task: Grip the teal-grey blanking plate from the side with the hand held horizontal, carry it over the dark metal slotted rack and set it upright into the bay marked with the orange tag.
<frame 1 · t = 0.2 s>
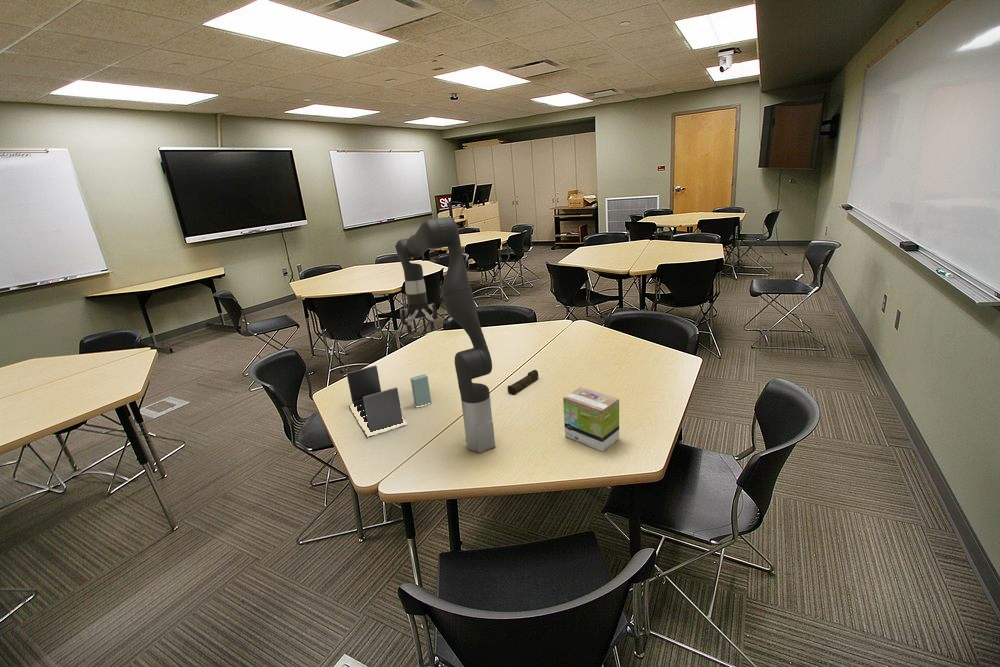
hand: (421, 332, 180), 29 cm above the table, tool pointing down, fingers open, 8 cm apart
blanking plate: (423, 404, 183), on the table
tea box: (591, 438, 149), on the table
rack: (377, 415, 178), on the table
hand tool: (524, 386, 193), on the table
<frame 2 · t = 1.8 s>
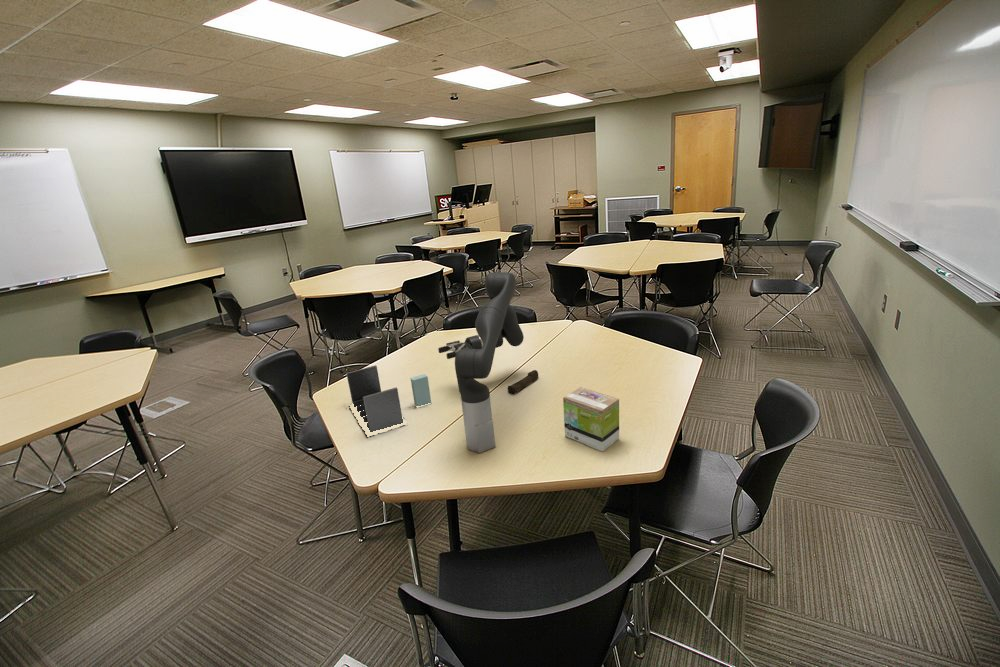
hand: (442, 353, 183), 19 cm above the table, tool horizontal, fingers open, 8 cm apart
nothing on the table moved.
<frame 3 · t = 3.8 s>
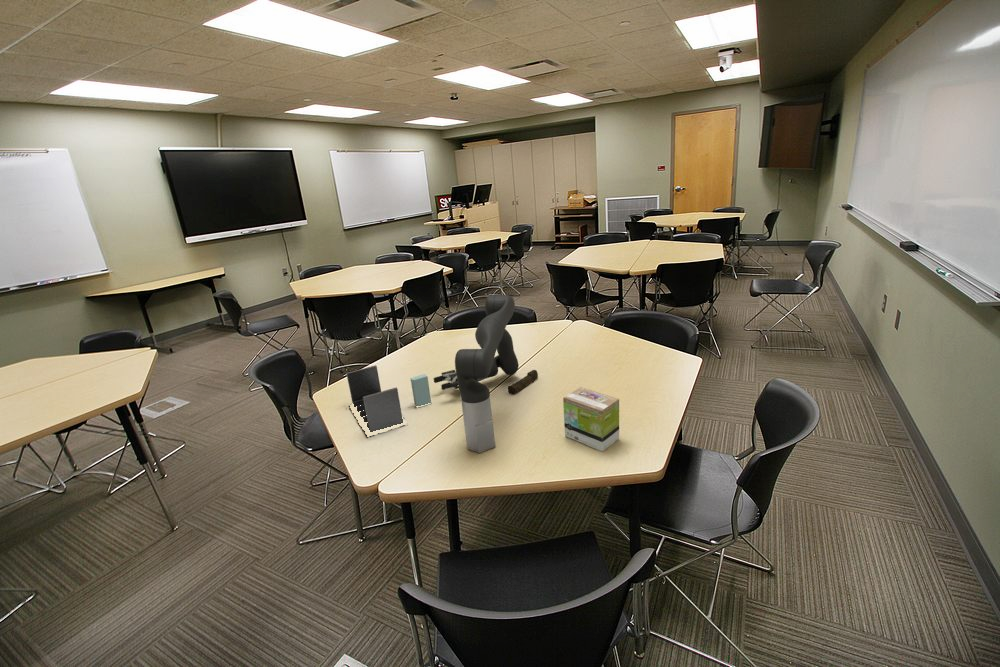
hand: (437, 383, 185), 7 cm above the table, tool horizontal, fingers open, 8 cm apart
nothing on the table moved.
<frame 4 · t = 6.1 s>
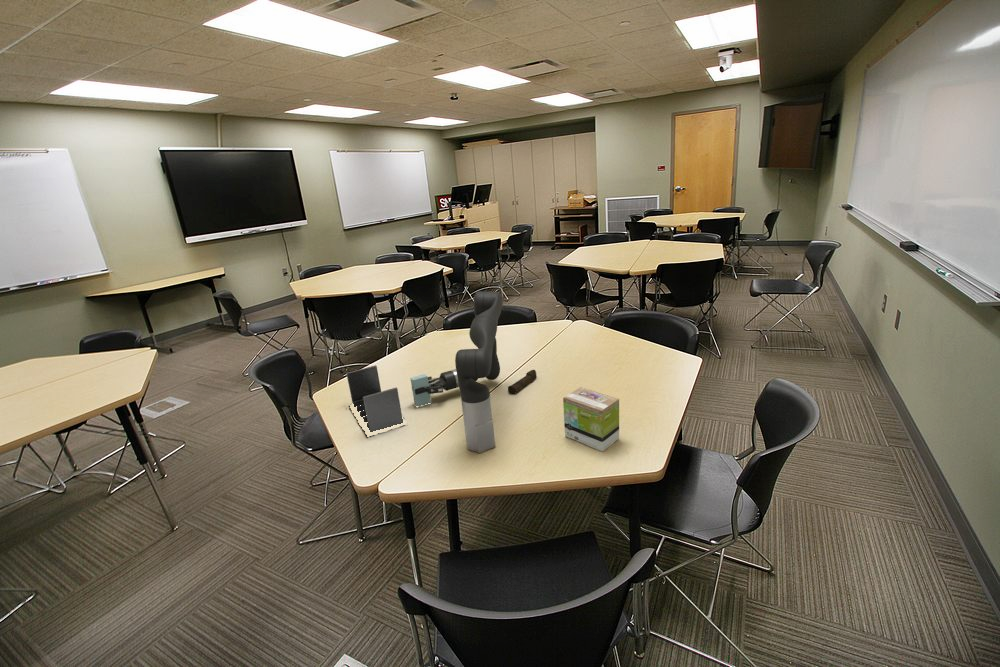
hand: (413, 390, 180), 7 cm above the table, tool horizontal, fingers closed on blanking plate, 3 cm apart
blanking plate: (423, 404, 183), on the table, touching gripper
everything else where it was.
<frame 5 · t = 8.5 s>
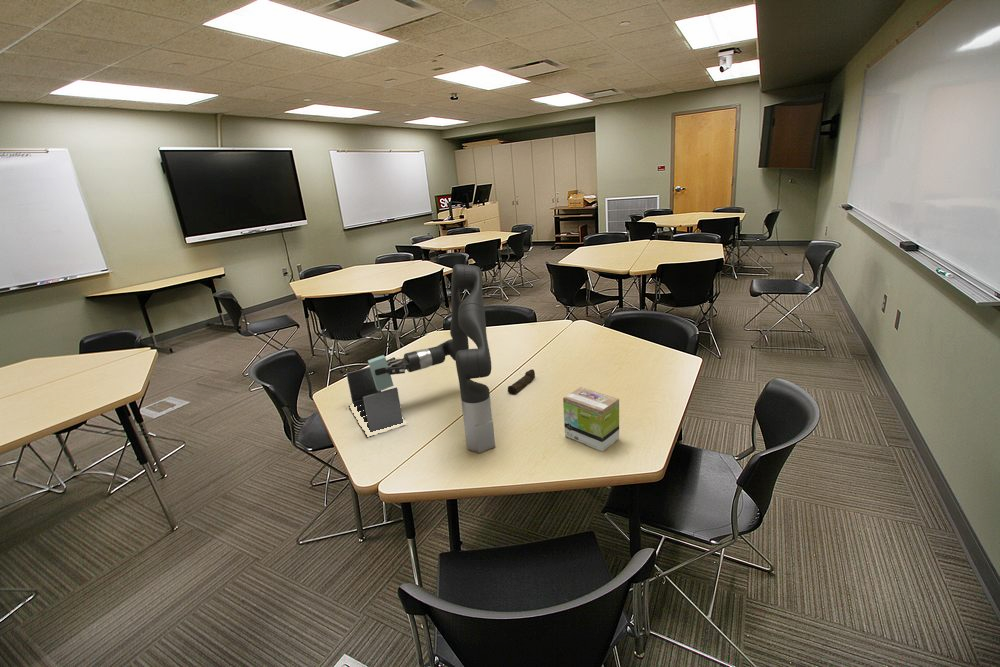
hand: (374, 371, 171), 19 cm above the table, tool horizontal, fingers closed on blanking plate, 3 cm apart
blanking plate: (385, 387, 174), point 12 cm above the table, tilted 6°, touching gripper
everything else where it was.
when the fingers open (11 cm above the table, at t = 10.9 s): blanking plate drops 1 cm, resting on rack.
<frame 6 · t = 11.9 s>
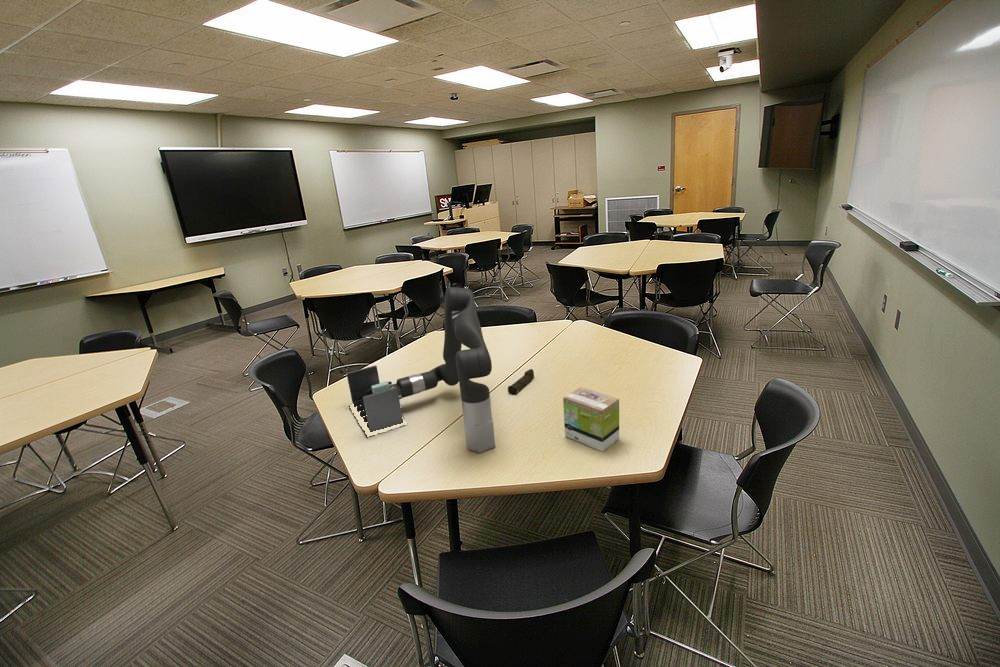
hand: (369, 397, 172), 10 cm above the table, tool horizontal, fingers open, 8 cm apart
blanking plate: (386, 413, 177), point 1 cm above the table, touching rack
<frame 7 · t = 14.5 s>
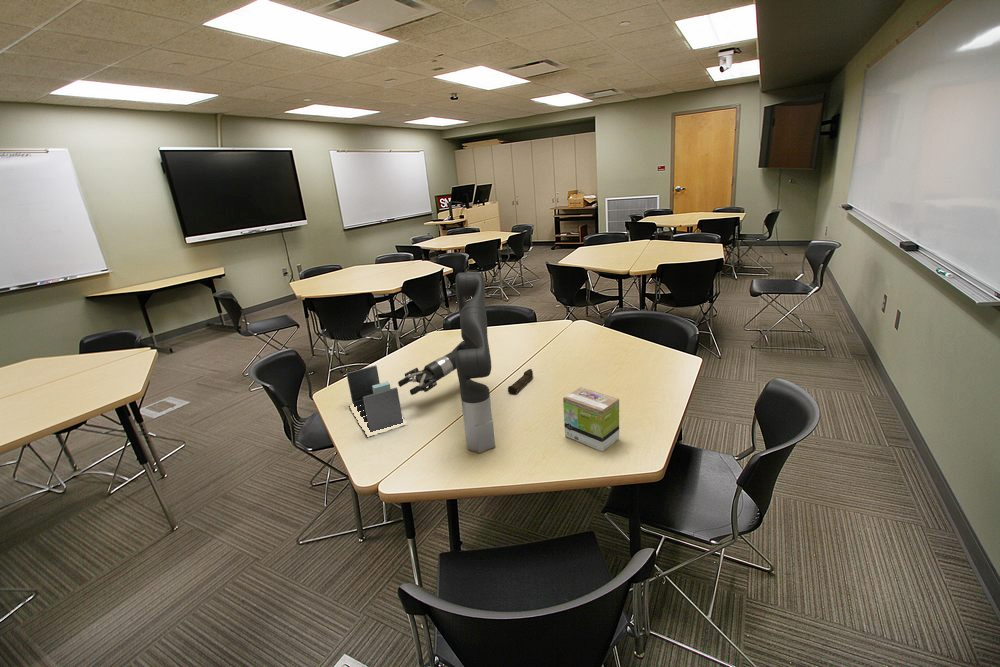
hand: (404, 388, 174), 10 cm above the table, tool horizontal, fingers open, 8 cm apart
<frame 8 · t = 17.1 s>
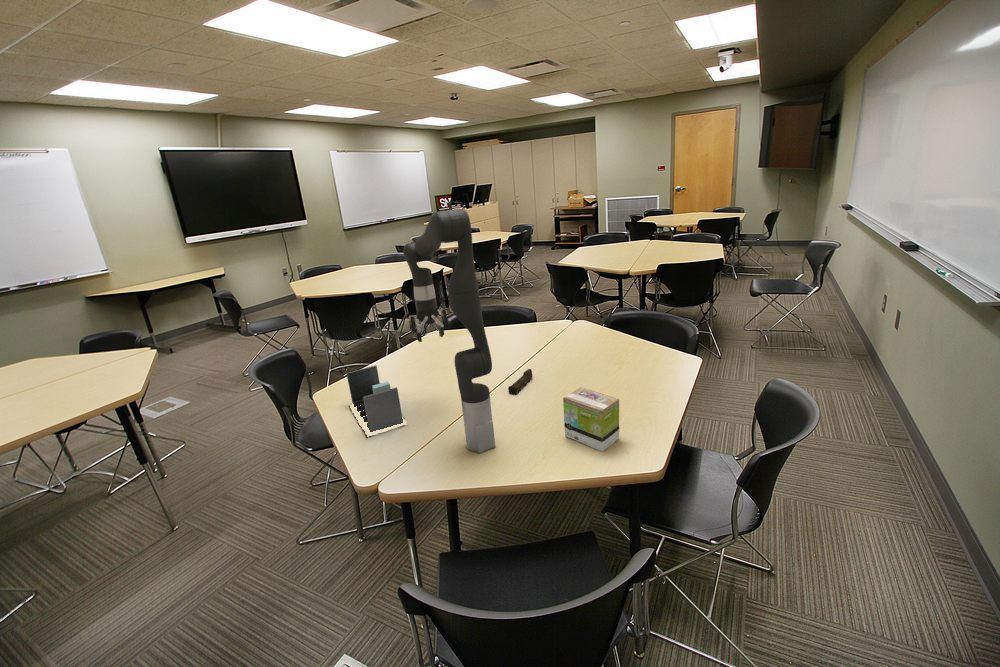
hand: (430, 339, 172), 28 cm above the table, tool pointing down, fingers open, 8 cm apart
at the end: blanking plate inside the target area on the rack (3.1 cm from its centre), point 1.0 cm above the rack's base; blanking plate tilted 0°; the gripper is holding nothing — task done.
